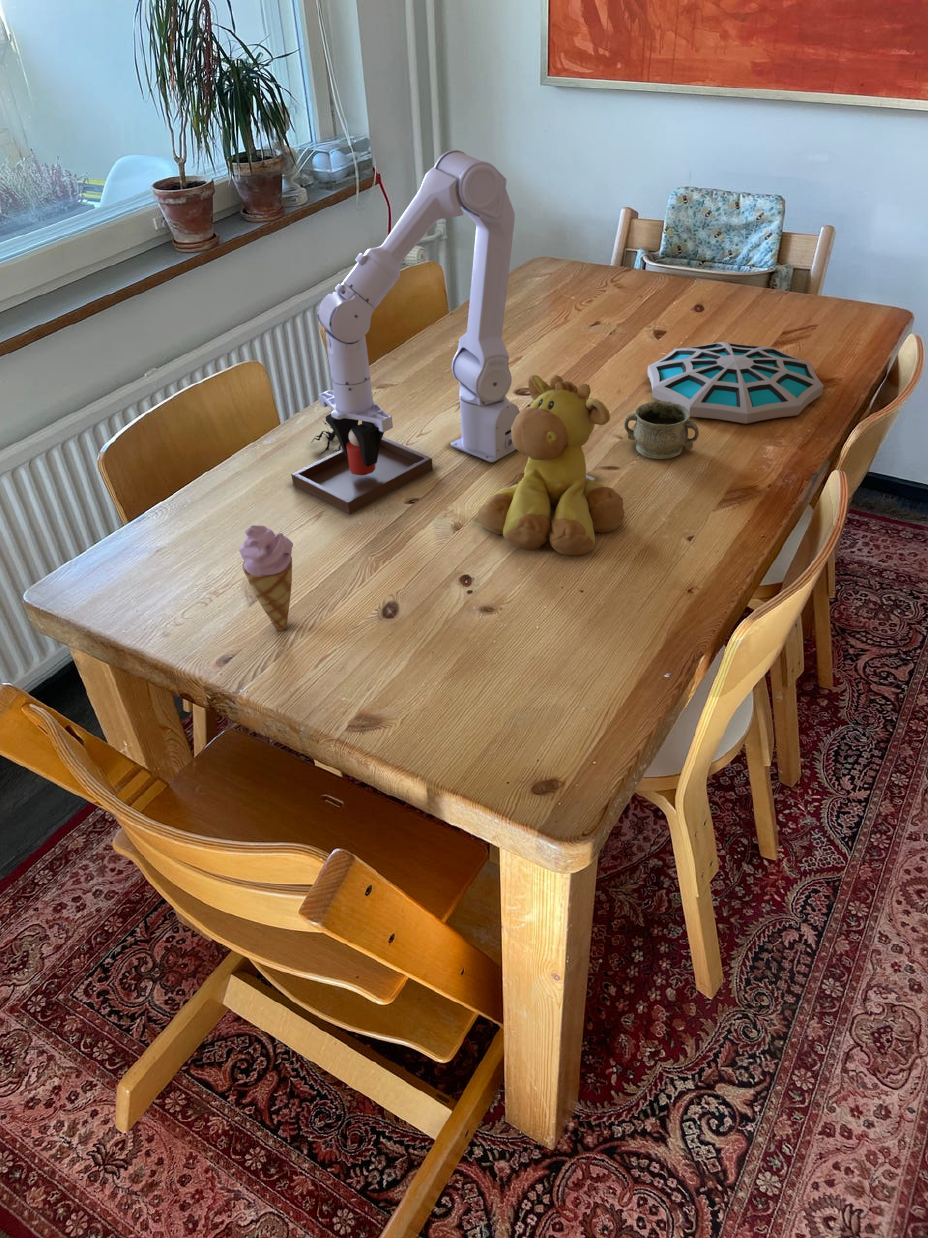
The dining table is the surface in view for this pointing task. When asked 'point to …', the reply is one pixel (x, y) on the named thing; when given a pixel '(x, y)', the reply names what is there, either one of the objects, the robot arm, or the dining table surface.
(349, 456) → the peg doll
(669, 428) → the vessel
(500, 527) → the giraffe plush
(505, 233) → the robot arm
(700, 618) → the dining table surface
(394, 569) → the dining table surface
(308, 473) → the tray
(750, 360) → the decorative platform
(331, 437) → the creature
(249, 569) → the ice cream cone
